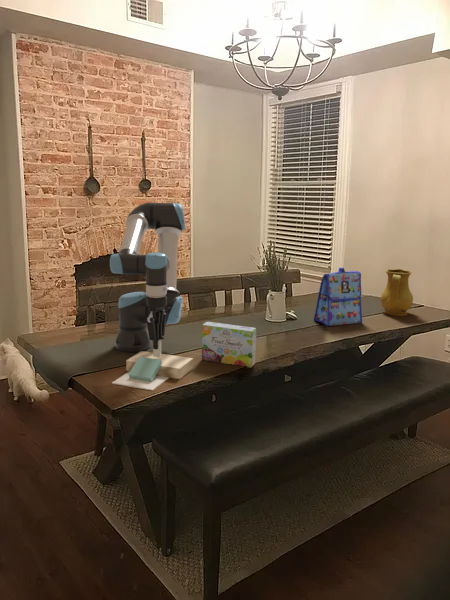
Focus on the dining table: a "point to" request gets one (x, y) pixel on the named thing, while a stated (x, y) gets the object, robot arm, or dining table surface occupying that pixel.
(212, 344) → the snack box
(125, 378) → the mat
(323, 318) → the lunch bag
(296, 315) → the dining table surface
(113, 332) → the dining table surface
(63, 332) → the dining table surface
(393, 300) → the pitcher
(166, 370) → the board
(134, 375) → the coaster
